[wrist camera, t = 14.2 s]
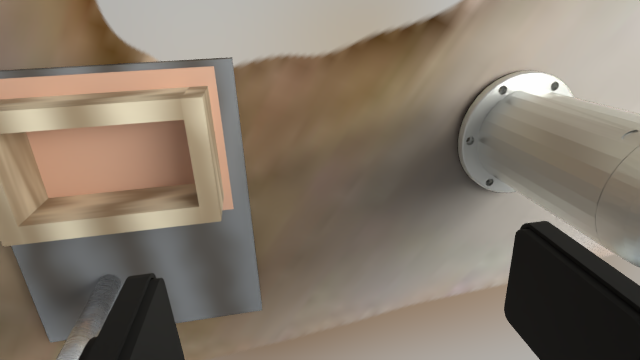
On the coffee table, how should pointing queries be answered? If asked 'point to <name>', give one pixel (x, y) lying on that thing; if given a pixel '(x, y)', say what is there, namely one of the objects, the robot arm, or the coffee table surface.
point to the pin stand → (128, 174)
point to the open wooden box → (109, 207)
